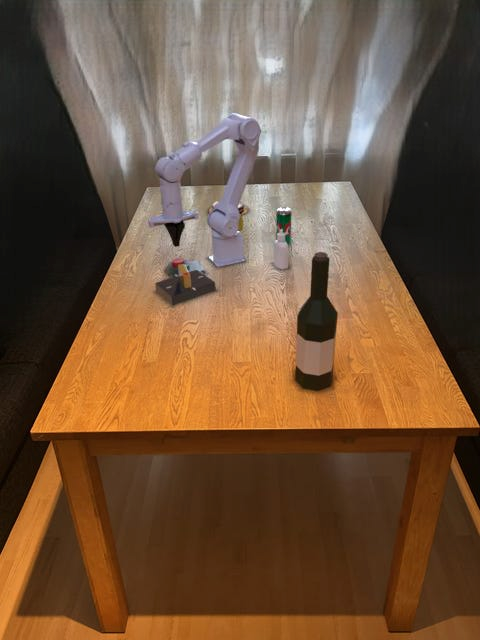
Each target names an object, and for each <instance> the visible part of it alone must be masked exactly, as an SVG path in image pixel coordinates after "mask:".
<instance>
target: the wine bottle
mask: <svg viewBox="0 0 480 640" xmlns="http://www.w3.org/2000/svg"><path fill="white" fill-rule="evenodd" d="M330 259H331V258H330V257H329V256H328V253H326V252H324V251H318V252H315V253H314V256H313V257H312V258H311V270H310V271H311V273H310V274H311V275H310V294H309V296H308V298H307V299H306V301H305V302H304V303H303V305H301V307H300V309H299V311H298V313H297V316H296V343H295V344H296V345H295V374H294V375H295V377H294V381H295V382H296V383H297V384H298V385H299V386H300V387H301V388H302V389H304V390H309V391H310V390H311V391H316V392H320V391H322V390H324V389H327V388H330V387H331V384H332V381H333V377H334V363H335V351H336V340H337V327H338V314H339V312H338V311H337V310H336V308H335V306H334V304H332V301H331V300H330V298H329V296H328V287H329V272H330Z"/></svg>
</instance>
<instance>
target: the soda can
mask: <svg viewBox="0 0 480 640" xmlns="http://www.w3.org/2000/svg"><path fill="white" fill-rule="evenodd" d="M292 213H293V212H292V211H291V207H286V206H281V207H278V208H277V210H276V212H275V241H276V240H277V234H278V233H280V230H281V229H282V230H283V233H285V241H286V242H287V244H288V246H289V245H290V244H291V243H292V219H293V216H292V215H293V214H292Z"/></svg>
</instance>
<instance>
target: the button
mask: <svg viewBox="0 0 480 640" xmlns="http://www.w3.org/2000/svg"><path fill="white" fill-rule="evenodd" d="M171 261H172V266H173V267H175V268H178V265H180V264H184V261H185V260H184V258H181V257H175V258H173V259H171Z"/></svg>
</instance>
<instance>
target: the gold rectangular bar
mask: <svg viewBox="0 0 480 640" xmlns="http://www.w3.org/2000/svg"><path fill="white" fill-rule="evenodd" d="M178 272H179V278H180V280H181V282H182V284H183V286H184V287H185V288H191V279H190V274H189V272H188V270H187V269H186V267H185V265H184V264H180V265H178Z"/></svg>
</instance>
